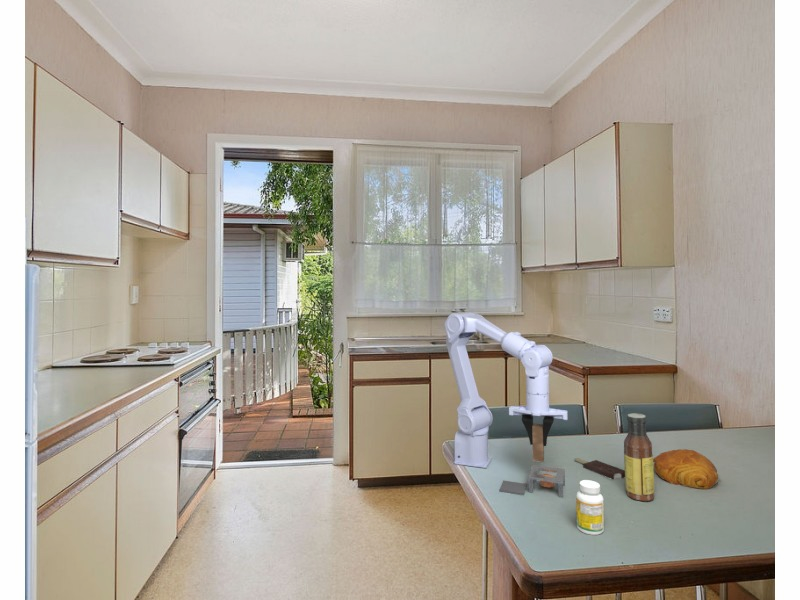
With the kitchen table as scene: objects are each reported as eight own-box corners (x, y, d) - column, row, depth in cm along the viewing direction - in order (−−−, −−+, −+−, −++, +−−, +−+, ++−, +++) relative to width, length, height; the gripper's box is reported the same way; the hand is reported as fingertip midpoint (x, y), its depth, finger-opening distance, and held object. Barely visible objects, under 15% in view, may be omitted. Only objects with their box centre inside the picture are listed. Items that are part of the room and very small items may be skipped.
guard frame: (529, 492, 113) (528, 476, 113) (532, 479, 121) (532, 464, 121) (563, 497, 110) (562, 481, 110) (564, 484, 118) (564, 469, 118)
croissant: (710, 479, 125) (710, 449, 125) (723, 495, 111) (723, 461, 111) (650, 469, 131) (651, 441, 131) (655, 483, 117) (655, 451, 117)
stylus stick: (532, 460, 118) (532, 426, 118) (533, 457, 121) (533, 423, 120) (543, 461, 117) (542, 427, 117) (544, 458, 120) (543, 424, 119)
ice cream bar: (569, 463, 133) (615, 482, 120) (569, 457, 133) (615, 475, 119) (581, 459, 135) (628, 477, 122) (581, 454, 135) (628, 471, 122)
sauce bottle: (651, 492, 112) (651, 412, 112) (657, 504, 106) (656, 419, 106) (622, 489, 114) (622, 410, 114) (625, 500, 108) (625, 417, 108)
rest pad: (499, 491, 114) (499, 489, 114) (503, 481, 120) (503, 480, 120) (523, 495, 112) (523, 493, 112) (526, 485, 117) (526, 483, 117)
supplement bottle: (599, 538, 92) (599, 491, 92) (572, 530, 96) (572, 484, 95) (607, 527, 96) (606, 482, 96) (581, 519, 100) (581, 476, 99)
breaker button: (539, 486, 115) (539, 478, 114) (540, 480, 118) (540, 473, 118) (553, 488, 113) (553, 480, 113) (554, 482, 116) (554, 475, 116)
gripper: (506, 394, 118) (507, 446, 118) (566, 397, 112) (567, 452, 112) (511, 388, 124) (511, 437, 124) (567, 391, 119) (568, 443, 119)
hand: (538, 444), depth 119 cm, fingers closed on stylus stick, 3 cm apart
